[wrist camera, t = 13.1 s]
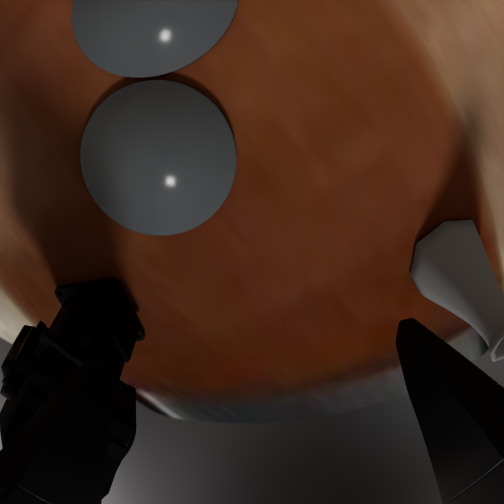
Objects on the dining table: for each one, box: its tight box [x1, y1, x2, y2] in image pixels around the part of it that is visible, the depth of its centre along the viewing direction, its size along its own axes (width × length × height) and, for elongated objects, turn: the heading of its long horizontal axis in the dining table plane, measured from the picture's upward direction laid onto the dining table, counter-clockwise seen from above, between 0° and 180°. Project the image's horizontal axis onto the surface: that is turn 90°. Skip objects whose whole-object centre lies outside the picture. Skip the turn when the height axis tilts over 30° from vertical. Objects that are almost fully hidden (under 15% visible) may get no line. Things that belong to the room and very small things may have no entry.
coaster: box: [80, 80, 236, 235], centre depth 18 cm, size 10×10×1 cm
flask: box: [410, 220, 504, 362], centre depth 19 cm, size 7×7×10 cm
